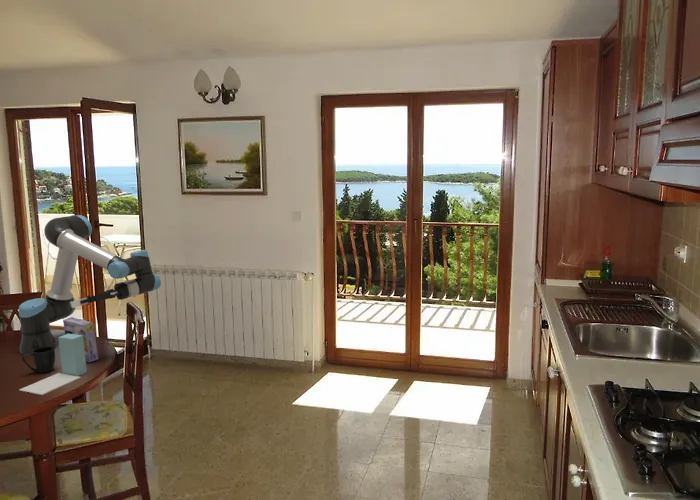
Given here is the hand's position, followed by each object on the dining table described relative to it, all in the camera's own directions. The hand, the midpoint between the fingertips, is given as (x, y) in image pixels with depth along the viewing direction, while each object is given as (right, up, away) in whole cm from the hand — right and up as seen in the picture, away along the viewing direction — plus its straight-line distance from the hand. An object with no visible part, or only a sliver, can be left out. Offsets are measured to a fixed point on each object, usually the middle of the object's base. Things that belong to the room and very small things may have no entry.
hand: (71, 304), depth 231 cm
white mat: (-2, -30, -12) cm, 33 cm away
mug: (-13, -29, +1) cm, 32 cm away
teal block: (+2, -28, -1) cm, 28 cm away
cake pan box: (-3, -26, +17) cm, 31 cm away
